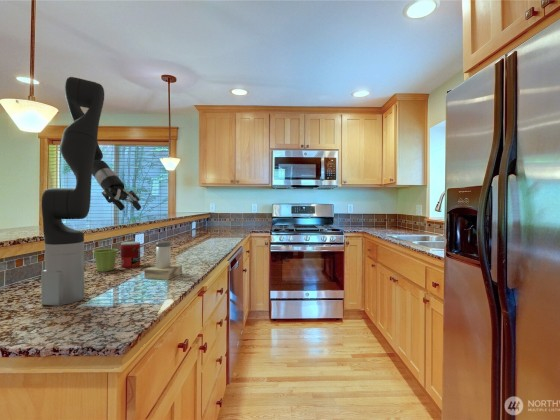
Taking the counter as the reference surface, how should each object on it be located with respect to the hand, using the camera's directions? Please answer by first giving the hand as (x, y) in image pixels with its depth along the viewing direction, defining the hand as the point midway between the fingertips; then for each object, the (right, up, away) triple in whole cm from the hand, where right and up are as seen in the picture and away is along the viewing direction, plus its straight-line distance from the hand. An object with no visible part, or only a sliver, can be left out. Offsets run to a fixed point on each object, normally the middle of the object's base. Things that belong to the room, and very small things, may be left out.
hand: (131, 209), depth 114 cm
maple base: (+14, -27, -2) cm, 30 cm away
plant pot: (-15, -27, +7) cm, 32 cm away
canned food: (-8, -27, +15) cm, 32 cm away
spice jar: (+14, -23, -2) cm, 27 cm away
